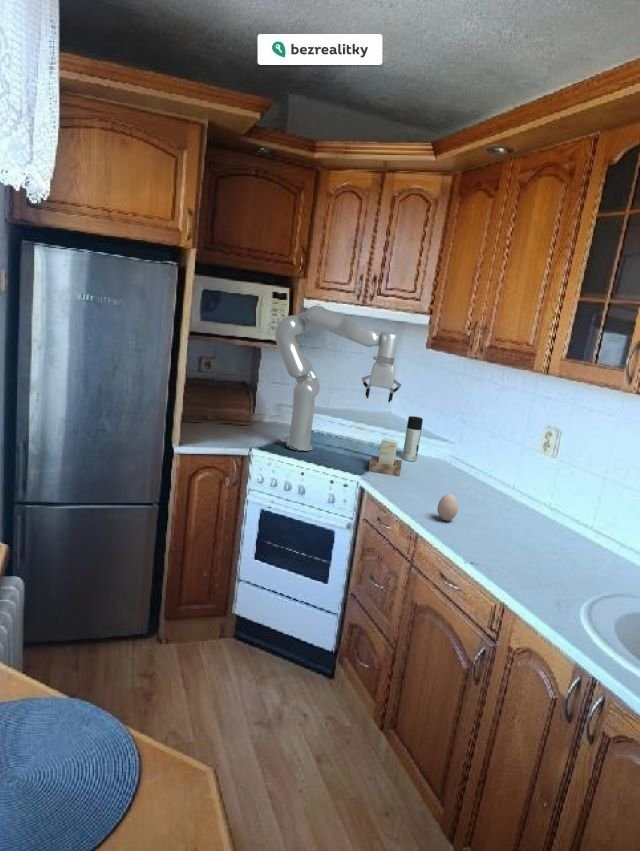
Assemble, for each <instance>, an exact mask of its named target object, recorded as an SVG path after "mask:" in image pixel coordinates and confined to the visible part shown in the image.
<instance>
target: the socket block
mask: <svg viewBox="0 0 640 851" xmlns="http://www.w3.org/2000/svg"><path fill="white" fill-rule="evenodd" d="M378 460H379V456H376V455H371V457H370V461H369V467H368V472H370V471H373V472H372V473H377V474H383V475H388V474H389V476H394V475H395V476H396V477H401V472H402V462H403V461H402V460H401V459H396V458H395V461H394V465H388V464H382V463H378Z"/></svg>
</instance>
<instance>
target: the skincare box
mask: <svg viewBox="0 0 640 851" xmlns="http://www.w3.org/2000/svg"><path fill="white" fill-rule="evenodd" d="M398 443H399V441H398V440H394V439H391V438H390V439H389V438H383V439H382V440H381V444H380V451H379V454H378V455H379V456H378V457H379V460H378V463H382V464H388V465H394V461H395V459H396V454H397V448H398Z"/></svg>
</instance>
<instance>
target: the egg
mask: <svg viewBox="0 0 640 851" xmlns="http://www.w3.org/2000/svg"><path fill="white" fill-rule="evenodd" d="M438 501H439V502H438V504H437V514H438V516H439V518H440V519H441V520H443V521H445V520H446V522H448V521H452V520H453V519H454V518H455V517H456V516H457V514H458V511H459V503H458V501H457V498H456V497H455V496H454V495H453V494H451V493H447V494H445V495H443V496H442V497H441V498H440V500H438Z"/></svg>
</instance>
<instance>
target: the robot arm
mask: <svg viewBox="0 0 640 851" xmlns="http://www.w3.org/2000/svg"><path fill="white" fill-rule="evenodd" d="M316 328H320V329H321V330H325V331H327V332H330V333H332V334H335V335H337V336H339V337H342V338H345V339H347V340H349V341H351V342H354V343H356V344H359V345H361V346H364V347H367V348H373V347H378V348H377V349H378V350H377V354H376V356H373V357H372V359H373V360H374V361H375V362H373V365H372V367H371V372H370V375H365V376H362V378H361V380H362V384H363V386H364V387H365V394H364V395H365V397H366V399H369V398H370V397H369V396H370V391H371V387H372V386H373V387H375V388H381V389H388V390H389V394H388V395H389V396H388V399H387V402H388V403H391V401H393V396H394V394H395V393H396V392H397V391H399V389H400V388H401V387H402V384H401V383H400V382H399V381H398V380H396V379H395V375H396V374H395V371H396V365H394V364H395V359H396V352H397V348H398V342H399V334H398V333H396V332H390V331H382V330H379V329H376V328H369V327H367V326H365V325H362V324H360V323H357V322H355V321H353V320H351V319H350V318H348V316H345V315H343V314H340V313H338V312H335V311H333V310H330V309H328V308H325V306H321V305H311V306H310V307H309V308H308V309H307V310H306V311H303V312H300V313H298V314H295V315H287V316H285V317H283V318H282V319H280V321H279V322H278V324H277V326H276V328H275V330H274V331H275V333H274V336H275V338H274V339H275V343H276V346H277V348H278V350H279V353H280V357H281V359H282V361H283V363H284V366H285V369H286V371H287V374H288V375H289V376H290V377H291V378H294V379H295V380H296V384H295V386H294V388H293V395H292V396H293V397H292V398H293V399H292V413H291V422H290V429H289V430H290V431H289V436H287V437H284V436H280V437H279V442H282V443H285V444H286V443H287V445H290V446H292V447H294V448H297V449H298V450H304V451H305V450H306V451H308V450H312V449H314V447H313V446H312V445H310V444H311V437H312V431H313V430H312V428H313V420H314V413H315V399H316V397H317V396H318V394H319V393H320V388H321V387H320V382H319V379H318V377H317V374H316V372H315V370H314V367H313V365H312V362H311V361H310V359H308V357H307V356H305V355H302V352H301V350H300V347H299V345H298V343H297V341H296V339H295V336H296V335H301V334H303V333H306V332H308V331H310V330H313V329H316ZM368 379H369V382H368V383H367V381H366V380H368ZM394 384H395V385H396V387H394V388H393V386H394ZM312 451H313V450H312Z"/></svg>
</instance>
